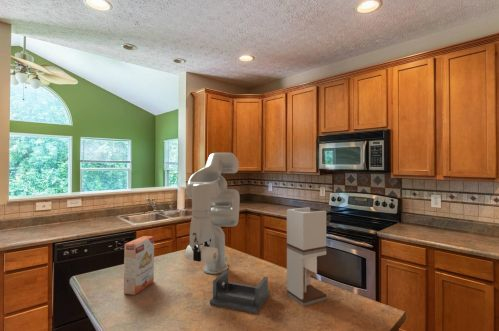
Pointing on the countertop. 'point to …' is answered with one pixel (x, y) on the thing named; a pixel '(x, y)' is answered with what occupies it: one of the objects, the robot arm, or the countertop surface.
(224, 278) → the roll holder
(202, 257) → the kitchen roll
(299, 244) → the white stand
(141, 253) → the cracker box
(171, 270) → the countertop surface
